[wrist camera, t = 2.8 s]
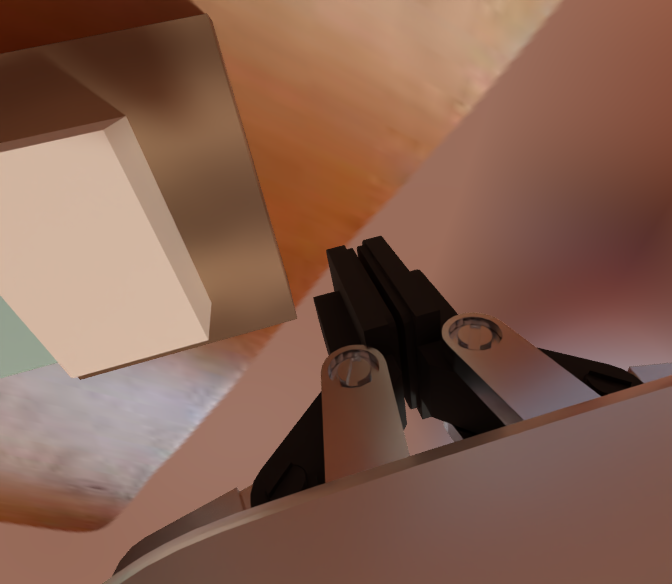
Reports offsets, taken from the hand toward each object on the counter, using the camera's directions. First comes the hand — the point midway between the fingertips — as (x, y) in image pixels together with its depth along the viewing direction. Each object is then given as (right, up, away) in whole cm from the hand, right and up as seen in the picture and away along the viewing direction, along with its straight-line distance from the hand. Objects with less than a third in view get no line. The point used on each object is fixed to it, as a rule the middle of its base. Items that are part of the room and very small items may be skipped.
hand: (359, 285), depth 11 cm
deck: (-11, +4, +8) cm, 14 cm away
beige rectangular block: (-10, +1, +4) cm, 11 cm away
